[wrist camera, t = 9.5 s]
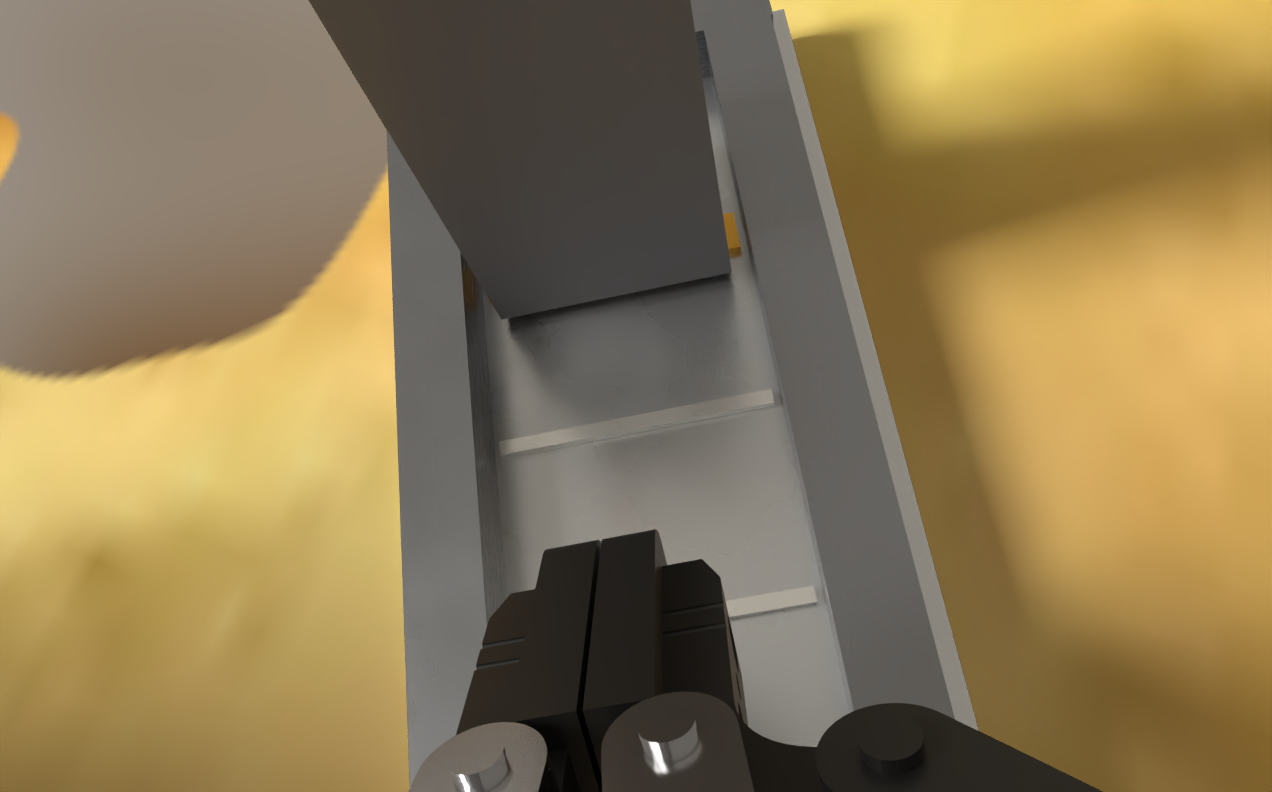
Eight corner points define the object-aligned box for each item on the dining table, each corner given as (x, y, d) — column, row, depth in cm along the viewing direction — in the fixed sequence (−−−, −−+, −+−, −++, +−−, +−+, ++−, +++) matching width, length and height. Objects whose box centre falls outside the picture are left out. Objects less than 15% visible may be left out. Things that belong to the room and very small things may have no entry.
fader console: (1108, 1253, 15) (1161, 1328, 12) (453, 1324, 16) (391, 1405, 13) (784, 39, 25) (781, -41, 23) (401, 126, 26) (361, 57, 24)
